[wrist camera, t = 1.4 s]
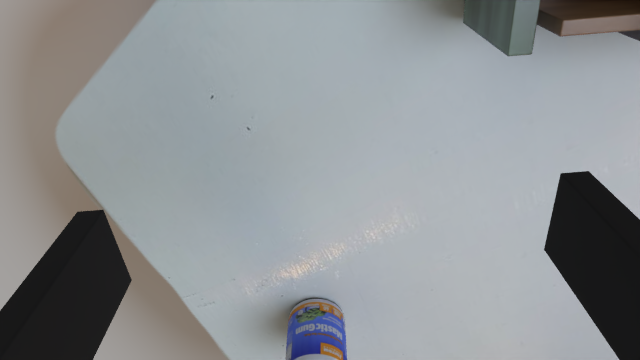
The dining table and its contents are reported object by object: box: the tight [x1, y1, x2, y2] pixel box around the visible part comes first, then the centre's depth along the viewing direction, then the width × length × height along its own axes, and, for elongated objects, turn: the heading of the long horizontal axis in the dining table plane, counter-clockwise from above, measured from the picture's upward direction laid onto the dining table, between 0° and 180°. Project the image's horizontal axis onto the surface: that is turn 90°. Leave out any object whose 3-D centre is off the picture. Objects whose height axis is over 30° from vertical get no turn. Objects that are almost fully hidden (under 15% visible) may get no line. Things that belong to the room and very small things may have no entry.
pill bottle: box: [286, 299, 347, 360], centre depth 40 cm, size 5×5×10 cm
